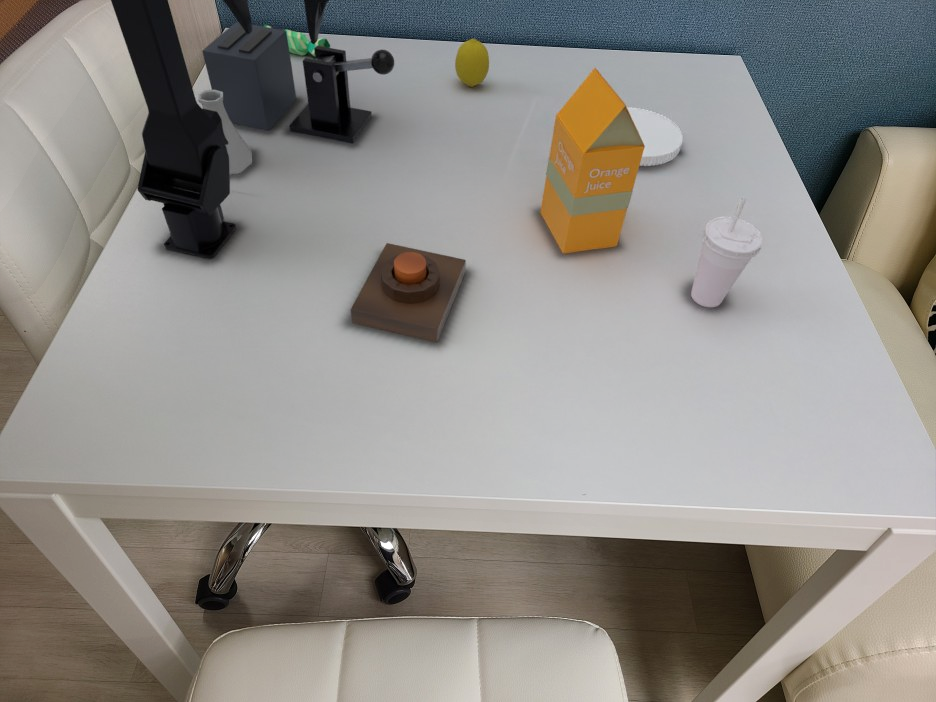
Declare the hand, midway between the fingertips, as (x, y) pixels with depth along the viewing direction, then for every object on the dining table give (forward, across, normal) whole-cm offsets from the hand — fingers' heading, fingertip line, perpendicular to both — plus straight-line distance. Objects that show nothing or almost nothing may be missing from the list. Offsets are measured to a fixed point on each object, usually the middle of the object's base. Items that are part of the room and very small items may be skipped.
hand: (281, 37), depth 90 cm
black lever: (+5, -9, -3) cm, 11 cm away
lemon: (+14, -22, -22) cm, 34 cm away
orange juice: (+14, -44, +11) cm, 47 cm away
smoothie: (+14, -60, +20) cm, 65 cm away
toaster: (+14, +8, -4) cm, 17 cm away
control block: (+14, -26, +29) cm, 42 cm away
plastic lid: (+14, -50, -12) cm, 53 cm away
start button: (+11, -26, +29) cm, 41 cm away
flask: (+14, +6, +10) cm, 19 cm away
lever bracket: (+14, -4, -4) cm, 15 cm away
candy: (+14, +10, -24) cm, 30 cm away
